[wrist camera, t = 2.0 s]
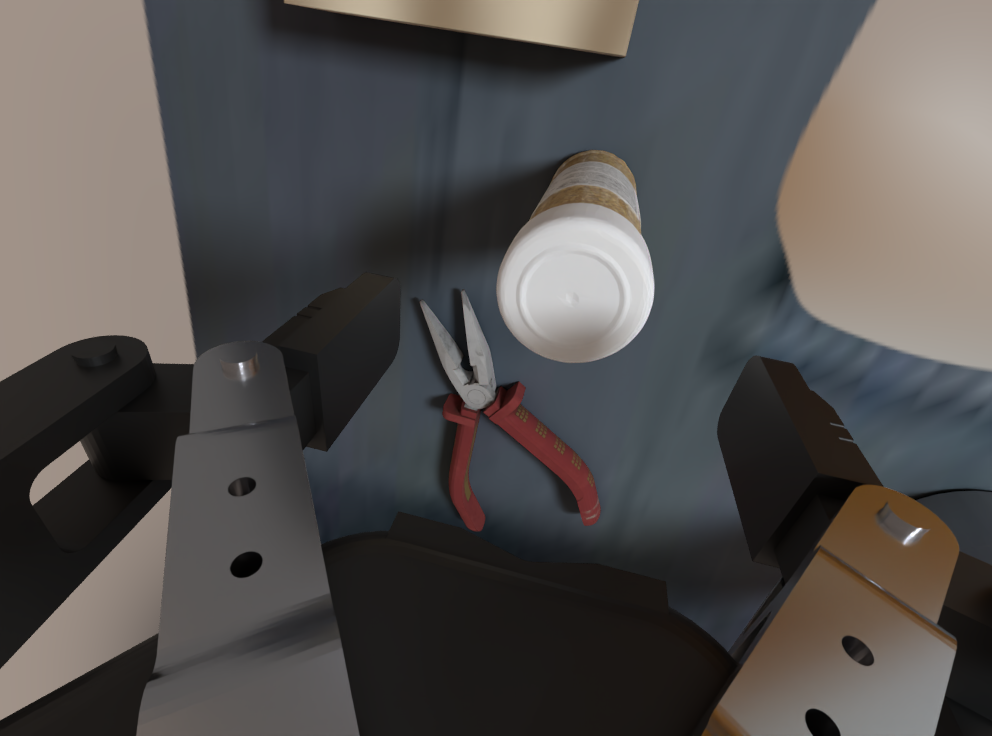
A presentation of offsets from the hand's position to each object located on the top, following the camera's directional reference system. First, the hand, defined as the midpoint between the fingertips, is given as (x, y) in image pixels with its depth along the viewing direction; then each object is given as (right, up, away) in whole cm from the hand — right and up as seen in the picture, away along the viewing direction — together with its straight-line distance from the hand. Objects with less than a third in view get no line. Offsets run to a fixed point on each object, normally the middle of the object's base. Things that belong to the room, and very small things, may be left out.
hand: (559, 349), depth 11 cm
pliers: (0, -4, +23) cm, 24 cm away
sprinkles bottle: (+4, +9, +14) cm, 17 cm away
